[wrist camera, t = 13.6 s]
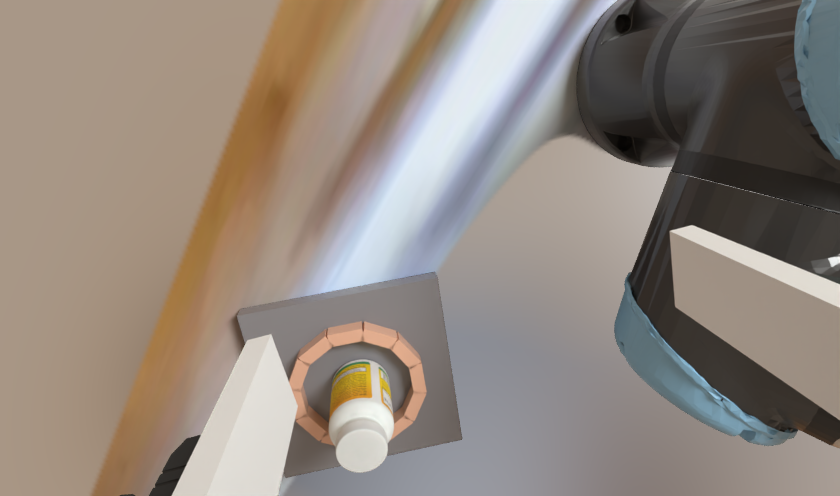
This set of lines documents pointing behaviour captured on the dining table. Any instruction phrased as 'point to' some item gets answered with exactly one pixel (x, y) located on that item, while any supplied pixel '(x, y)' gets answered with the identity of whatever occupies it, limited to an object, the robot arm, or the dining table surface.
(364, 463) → the supplement bottle
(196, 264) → the dining table surface
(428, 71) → the dining table surface
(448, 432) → the coaster stand
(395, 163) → the dining table surface
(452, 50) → the dining table surface
